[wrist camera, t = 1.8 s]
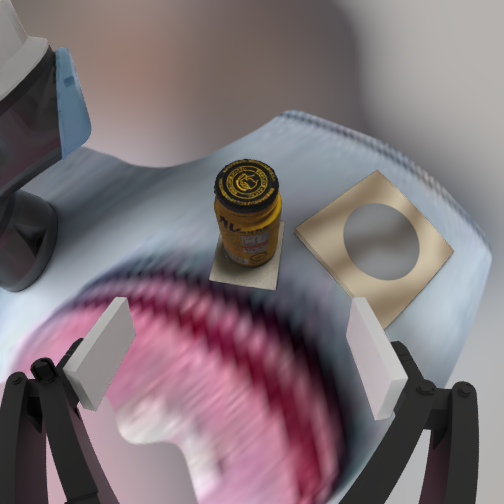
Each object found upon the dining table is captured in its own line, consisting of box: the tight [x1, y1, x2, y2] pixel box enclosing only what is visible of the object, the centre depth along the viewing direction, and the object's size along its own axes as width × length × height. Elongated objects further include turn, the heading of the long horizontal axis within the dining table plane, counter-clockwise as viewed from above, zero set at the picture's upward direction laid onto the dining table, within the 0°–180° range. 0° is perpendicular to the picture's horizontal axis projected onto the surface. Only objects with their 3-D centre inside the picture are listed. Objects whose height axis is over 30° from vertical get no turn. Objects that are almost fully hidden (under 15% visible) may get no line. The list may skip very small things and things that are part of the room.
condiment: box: [209, 159, 285, 290], centre depth 29 cm, size 7×8×12 cm
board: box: [294, 170, 454, 330], centre depth 33 cm, size 15×15×1 cm
